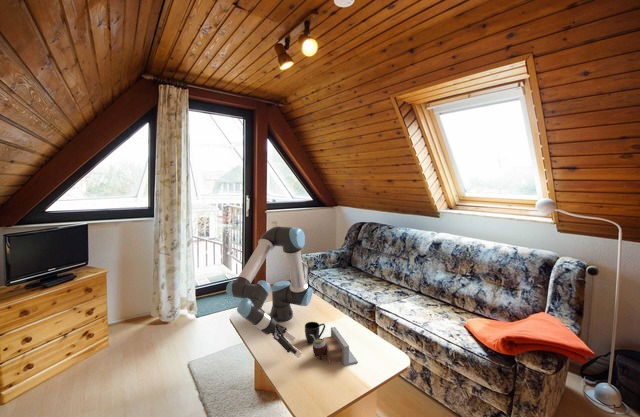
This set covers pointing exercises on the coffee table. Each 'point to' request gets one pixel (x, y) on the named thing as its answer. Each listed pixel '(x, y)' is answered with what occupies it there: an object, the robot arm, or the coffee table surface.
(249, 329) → the coffee table surface
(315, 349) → the mate gourd
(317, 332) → the mug
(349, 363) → the backstop board
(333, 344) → the tan block with ledge
